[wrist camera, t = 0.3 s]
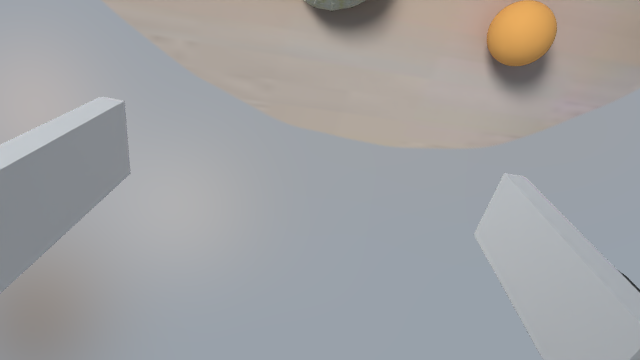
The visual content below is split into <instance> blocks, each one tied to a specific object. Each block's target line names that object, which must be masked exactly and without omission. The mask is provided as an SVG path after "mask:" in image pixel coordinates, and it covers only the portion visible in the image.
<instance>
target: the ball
mask: <svg viewBox="0 0 640 360" xmlns="http://www.w3.org/2000/svg"><path fill="white" fill-rule="evenodd" d="M556 32H557V23H556V19H555V16H554V14H553V12H552V11H551V10H550V9H549V8H548V7H547V6H546V5H544V4H543V3H540V2H537V1H533V0H525V1H519V2H516V3H513V4H511V5H509V6H507V7H505V8H504V9H503V10H502V11H500V12H499V13H498V14H497V15H496V17H495V18H494V19H493V21H492V22H491V24H490V26H489V29H488V33H487V46H488V49H489V51H490V53H491V55H492V56H493V57H494V58H495V59H496V60H497V61H499V62H500V63H502V64H505V65H508V66H522V65H526V64H530V63H532V62H534V61H536V60H537V59H539V58H540V57H542V56H543V55H544V54H545V53H546V52H547V51H548V50H549V48H550V47H551V45H552V44H553V41H554V39H555V36H556Z"/></svg>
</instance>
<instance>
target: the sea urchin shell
mask: <svg viewBox="0 0 640 360" xmlns="http://www.w3.org/2000/svg"><path fill="white" fill-rule="evenodd" d="M364 1H366V0H304V2H306V3H308V4H309V5H311V6H313V8H314V7H316V8H319V9H326V10H331V11H334V10H338V9H344V8H350V7H351V8H352V7H353V6H357V5H359V4H360V3H362V2H364Z"/></svg>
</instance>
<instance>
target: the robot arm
mask: <svg viewBox="0 0 640 360" xmlns="http://www.w3.org/2000/svg"><path fill="white" fill-rule="evenodd" d="M129 174H130V162H129V150H128V138H127V125H126V113H125V101H122V100H117V99H111V98H106V97H99V98H97V99H95V100H92V101H90V102H88V103H86V104H84V105H82V106H80V107H78V108H76V109H74V110H72V111H69V112H67V113H65V114H64V115H61V116H59V117H57V118H55V119H53V120H51V121H49V122H46V123H44V124H42V125H40V126H38V127H36V128H34V129H32V130H30V131H28V132H26V133H24V134H21V135H19V136H18V137H15V138H13V139H11V140H9V141H7V142H5V143H3V144H1V145H0V294H1V292H3V291H4V290H5V289H6V288H7V287H8V286H9V285H10V284H11V283H12V282H13V281H15V280H16V279H17V278H18V277H19V276H20V275H21V274H22V273H23V272H24V271H25V270H26V269H28V268H29V267H30V266H31V265H32V264H33V263H34V262H35V261H36V260H37V259H38V258H39V257H41V256H42V255H43V254H44V253H45V252H46V251H47V250H48V249H49V248H50V247H51V246H52V245H54V244H55V243H56V242H57V241H58V240H59V239H60V238H61V237H62V236H63V235H64V234H65V233H66V232H68V231H69V230H70V229H71V228H72V227H73V226H74V225H75V224H76V223H77V222H78V221H80V220H81V219H82V218H83V217H84V216H85V215H86V214H87V213H88V212H89V211H90V210H91V209H92V208H94V207H95V206H96V205H97V204H98V203H99V202H100V201H101V200H102V199H103V198H104V197H106V196H107V195H108V194H109V193H110V192H111V191H112V190H113V189H114V188H115V187H116V186H117V185H119V184H120V183H121V182H122V181H123V180H124V179H125V178H126V177H127V176H128V175H129ZM474 236H475V238H476V240H477V241H478V243H479V245H480V247H481V248H482V250H483V252H484V254H485V256H486V258H487V259H488V261H489V263H490V265H491V267H492V268H493V270H494V272H495V274H496V276H497V278H498V279H499V281H500V283H501V285H502V286H503V288H504V290H505V292H506V294H507V296H508V297H509V299H510V301H511V303H512V305H513V306H514V308H515V310H516V312H517V314H518V315H519V317H520V319H521V321H522V322H523V324H524V326H525V328H526V330H527V332H528V334H529V335H530V337H531V339H532V341H533V343H534V344H535V346H536V348H537V350H538V352H539V353H540V355H541V357H542V359H543V360H640V290H639V289H638V288H637V287H636V286H635V285H634V284H633V283H632V282H631V281H630V280H629V278H627V277H626V276H625V275H624V274H622V273H621V272H620V271H618V270H617V269H616V268H615V267H614V266H613V265H612V264H611V263H610V262H609V261H608V260H607V259H606V258H605V257H604V256H603V255H602V254H601V253H600V252H599V251H598V250H597V249H596V248H595V247H594V246H593V245H592V244H591V243H590V242H589V241H588V240H587V239H586V238H585V237H584V236H583V235H582V234H581V233H580V232H579V231H578V230H577V229H576V228H575V227H574V226H573V225H572V224H571V222H570V221H569V220H568V219H567V218H566V217H565V216H564V215H563V214H562V213H561V212H560V211H559V210H558V209H557V208H556V207H555V206H554V205H553V204H552V203H551V202H550V201H549V200H548V199H547V198H546V197H545V196H544V195H543V194H542V193H541V192H540V191H539V190H538V189H537V188H536V187H535V186H534V185H533V184H532V183H531V182H530V181H529V180H528V179H527V178H526V177H525V176H519V175H514V174H509V173H504V175H503V177H502V179H501V181H500V183H499V185H498V187H497V189H496V191H495V193H494V195H493V197H492V199H491V201H490V203H489V205H488V207H487V209H486V211H485V213H484V215H483V217H482V219H481V221H480V223H479V225H478V227H477V229H476V231H475V233H474Z"/></svg>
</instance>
